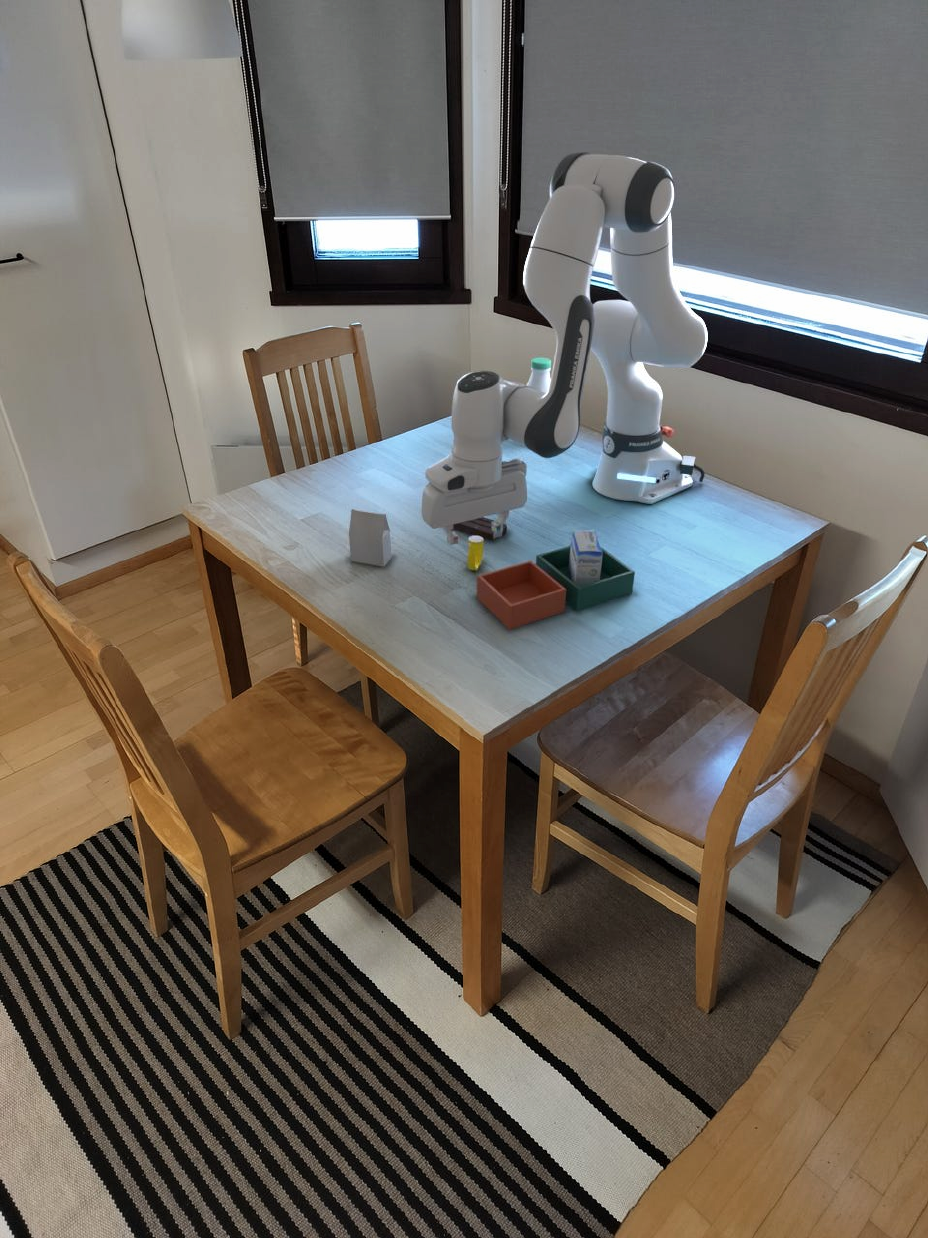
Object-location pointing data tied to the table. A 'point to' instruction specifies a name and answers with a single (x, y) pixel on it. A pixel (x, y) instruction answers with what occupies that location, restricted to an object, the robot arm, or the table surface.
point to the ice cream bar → (480, 528)
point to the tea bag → (369, 538)
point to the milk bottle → (540, 374)
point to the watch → (475, 552)
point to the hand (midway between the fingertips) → (475, 537)
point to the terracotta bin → (521, 594)
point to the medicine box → (585, 558)
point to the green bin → (611, 585)
